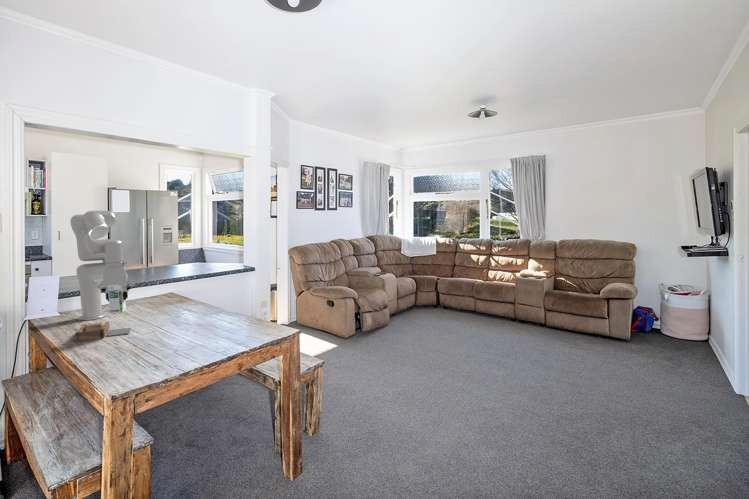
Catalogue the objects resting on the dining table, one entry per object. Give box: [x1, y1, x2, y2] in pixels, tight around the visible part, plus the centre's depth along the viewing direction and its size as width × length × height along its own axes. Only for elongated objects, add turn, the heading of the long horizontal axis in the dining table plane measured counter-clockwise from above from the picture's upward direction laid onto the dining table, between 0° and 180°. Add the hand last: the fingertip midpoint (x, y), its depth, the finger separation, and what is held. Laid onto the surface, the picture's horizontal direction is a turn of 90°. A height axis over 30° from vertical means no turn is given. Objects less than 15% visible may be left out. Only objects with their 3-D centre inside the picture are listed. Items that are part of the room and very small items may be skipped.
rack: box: [75, 321, 110, 343], centre depth 191 cm, size 16×11×4 cm
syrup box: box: [108, 284, 127, 314], centre depth 194 cm, size 6×6×14 cm
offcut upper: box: [86, 321, 103, 330], centre depth 195 cm, size 5×6×2 cm
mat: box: [106, 327, 132, 337], centre depth 196 cm, size 10×9×1 cm
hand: (117, 299), depth 194 cm, fingers closed on syrup box, 6 cm apart
